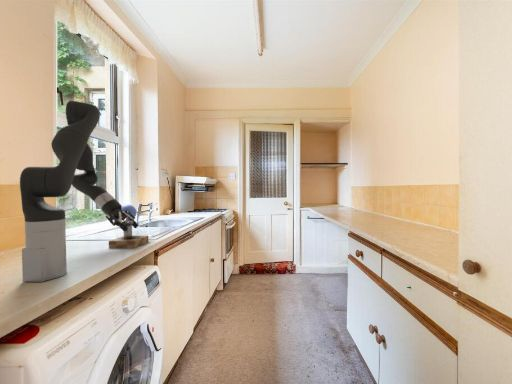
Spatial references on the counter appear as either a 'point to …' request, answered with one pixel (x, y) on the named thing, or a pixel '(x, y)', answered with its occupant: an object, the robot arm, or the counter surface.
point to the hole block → (128, 242)
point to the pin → (129, 231)
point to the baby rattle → (129, 209)
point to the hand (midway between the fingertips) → (132, 228)
